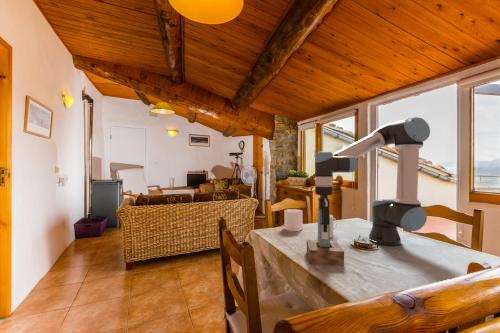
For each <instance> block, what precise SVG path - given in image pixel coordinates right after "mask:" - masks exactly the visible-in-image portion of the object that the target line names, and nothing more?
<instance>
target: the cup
mask: <svg viewBox="0 0 500 333" xmlns="http://www.w3.org/2000/svg"><path fill="white" fill-rule="evenodd" d="M283 213H284V216H283V217H284V219H283V220H284V230H286V231H288V232H301V231H302V230H303V227H304V226H303V222H304V221H303V210H302V209H297V208H287V209H284V212H283ZM300 230H301V231H300Z"/></svg>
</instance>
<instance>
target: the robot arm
mask: <svg viewBox="0 0 500 333" xmlns="http://www.w3.org/2000/svg"><path fill="white" fill-rule="evenodd" d="M430 135H431V127H430V126H429V123H428V122H427V121H426V119H424V118H421V117H417V116H415V117H408V118H405V119H401V120H395V121H391V122H388V123H387V124H385V125H383V126H381V127H379V128H377V129H375V130H373V131H372V132H371V133H370V134H369V135H368V136H365V137H363V138H362V139H360V140H358V141H355V142H354V143H352V144H350V145H348V146H345V147H344V148H342V149H339V150H338V151H336V152H334V153H333V152H332V151H317V152H316V153H315V156H314V170H315V171H314V172H315V174H314V176H315V178H313V180H314V181H315V182H314V183H315V185H316V186H315V187H314V188H315V189H314V194H315V195H317V196H319V197H318V209H322V223H320V224H321V225H322V239H328V224H329V211H330V203H331V202H330V199H329V198H328V196H332V195H333V178H334V177H333V173H347V174H349V173H354V172H355V171H356V170H358V166H359V165H358V164H359V163H358V159H357V158H359V157H361V156H363V155H366V154H368V153H369V152H372V151H374V150H375V149H378V148H379V149H381V148H383V147H385V146H388V145H394V147H395V149H397V166H396V167H397V170H396V174H397V176H396V193H395V194H396V195H395V196H396V197H395V198H394V199H393V198H389V199H388V198H387V199H384V198H383V199H373V200H372V206H371V207H372V208H371V210H372V213H371V215H372V218H371V219H372V227H371V230H370V232H369V234H368V240H369V239H371V240H374V241H377V243H378V244H377V245H381V246H390V247H396V246H400V245H401V243H402V242H401V241H402V239H401V237H400V233H399V231H398V228H400V229H403V230H405V231H410V232H417V231H419V230H421V229H422V228H423V227H424V226H425V225H426V223H427V219H428V215H427V212H426V211H425V209H424V208H422V203H421V201H420V200H418V189H419V188H418V186H419V184H418V183H419V161H420V160H419V159H420V158H419V157H420V149H421V148H423V146H424V142H426V140H428V138H429V137H430Z"/></svg>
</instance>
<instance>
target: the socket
mask: <svg viewBox="0 0 500 333" xmlns="http://www.w3.org/2000/svg"><path fill="white" fill-rule="evenodd" d="M306 253H307V258H308V261H309V264H310V265H323V266H325V265H326V266H345V250H344V249H343V248H342V247H341V245H340V244H339V242H338V241H337V240H330V247H319V245H318V239H306Z"/></svg>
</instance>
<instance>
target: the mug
mask: <svg viewBox="0 0 500 333" xmlns="http://www.w3.org/2000/svg"><path fill="white" fill-rule="evenodd" d="M334 221H335V225H334ZM336 227H337V219H336V218H335V217H334V215H332V214H330V239H331V238H334V230H335V229H336Z"/></svg>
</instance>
